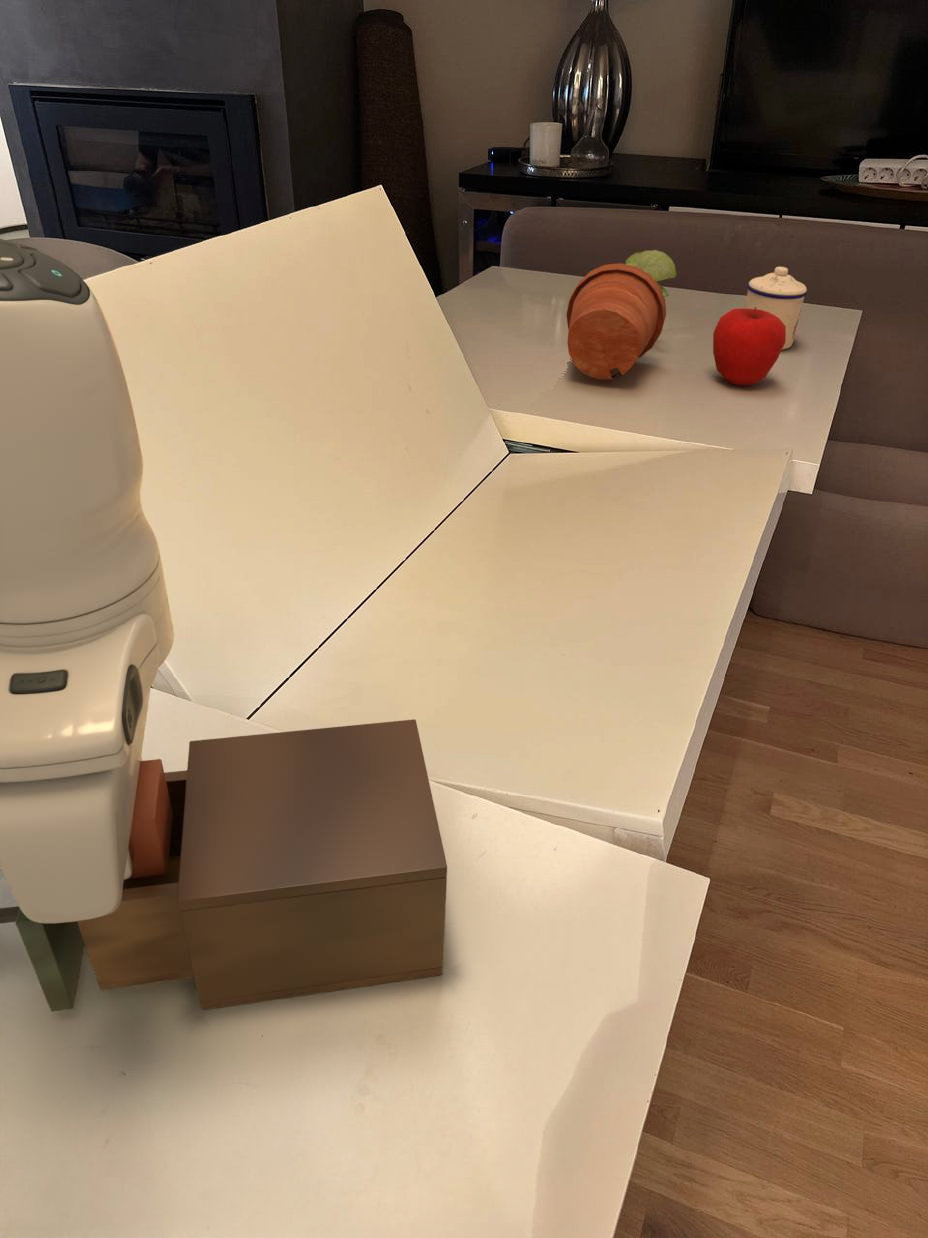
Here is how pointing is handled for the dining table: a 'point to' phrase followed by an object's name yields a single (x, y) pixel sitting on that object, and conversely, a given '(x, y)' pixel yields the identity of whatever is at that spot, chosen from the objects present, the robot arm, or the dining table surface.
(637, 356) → the potted plant
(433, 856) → the cabinet
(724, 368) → the apple
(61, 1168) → the dining table surface
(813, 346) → the dining table surface
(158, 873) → the block
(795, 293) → the teacup with lid
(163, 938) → the drawer
